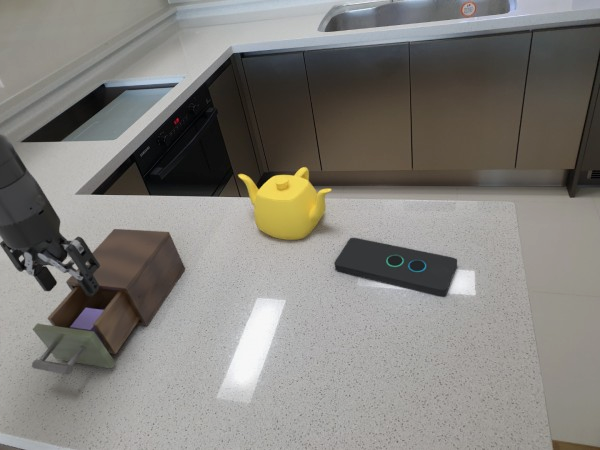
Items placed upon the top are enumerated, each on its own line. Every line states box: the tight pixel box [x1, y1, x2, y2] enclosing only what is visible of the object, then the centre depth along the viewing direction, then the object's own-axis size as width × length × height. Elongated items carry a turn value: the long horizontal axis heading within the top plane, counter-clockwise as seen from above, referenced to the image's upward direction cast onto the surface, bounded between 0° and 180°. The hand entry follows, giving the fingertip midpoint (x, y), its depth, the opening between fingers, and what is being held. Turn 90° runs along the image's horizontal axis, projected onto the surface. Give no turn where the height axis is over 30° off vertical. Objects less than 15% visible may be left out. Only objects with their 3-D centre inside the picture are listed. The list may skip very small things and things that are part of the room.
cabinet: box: [65, 228, 186, 327], centre depth 85 cm, size 15×13×10 cm
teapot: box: [237, 166, 332, 241], centre depth 95 cm, size 22×16×11 cm
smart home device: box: [333, 237, 458, 297], centre depth 81 cm, size 8×2×20 cm
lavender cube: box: [70, 308, 104, 344], centre depth 77 cm, size 4×4×4 cm
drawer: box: [31, 286, 140, 376], centre depth 76 cm, size 18×11×8 cm, turn 163°
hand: (72, 290), depth 73 cm, fingers open, 8 cm apart
